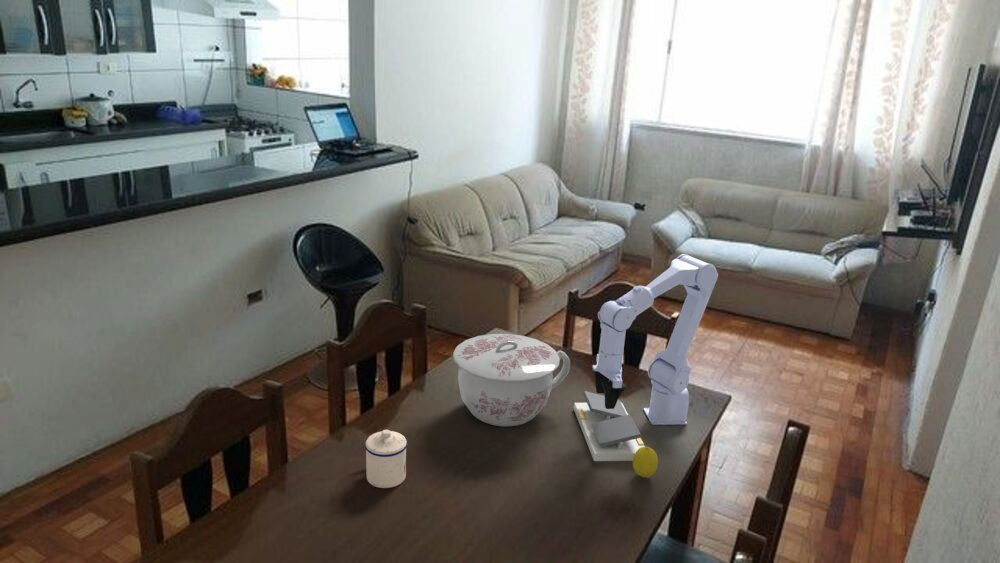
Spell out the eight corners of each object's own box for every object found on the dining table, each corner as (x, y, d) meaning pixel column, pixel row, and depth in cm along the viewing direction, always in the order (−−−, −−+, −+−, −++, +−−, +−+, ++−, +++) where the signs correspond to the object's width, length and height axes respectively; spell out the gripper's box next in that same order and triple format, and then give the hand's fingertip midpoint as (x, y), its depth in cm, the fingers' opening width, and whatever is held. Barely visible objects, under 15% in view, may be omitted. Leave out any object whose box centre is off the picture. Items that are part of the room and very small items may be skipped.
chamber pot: (432, 424, 176) (434, 350, 169) (476, 379, 200) (479, 312, 193) (537, 452, 167) (543, 375, 160) (570, 401, 191) (576, 332, 184)
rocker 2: (630, 419, 174) (629, 413, 174) (641, 440, 165) (640, 434, 165) (592, 428, 174) (590, 423, 173) (601, 450, 165) (599, 444, 164)
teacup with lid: (414, 481, 154) (414, 435, 150) (377, 494, 149) (376, 447, 145) (389, 454, 163) (388, 410, 159) (352, 466, 158) (351, 421, 154)
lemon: (655, 486, 156) (660, 455, 154) (630, 482, 157) (634, 451, 155) (655, 472, 162) (659, 442, 159) (631, 468, 163) (635, 438, 160)
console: (620, 408, 188) (622, 398, 187) (647, 460, 166) (649, 448, 165) (573, 409, 187) (574, 398, 186) (594, 461, 164) (595, 449, 163)
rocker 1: (616, 404, 186) (618, 398, 186) (626, 423, 177) (628, 417, 177) (582, 395, 184) (584, 390, 184) (590, 414, 175) (592, 409, 175)
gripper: (587, 338, 174) (581, 386, 178) (603, 364, 160) (597, 415, 165) (614, 337, 175) (608, 386, 179) (633, 363, 161) (626, 415, 166)
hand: (605, 400), depth 172 cm, fingers open, 7 cm apart
